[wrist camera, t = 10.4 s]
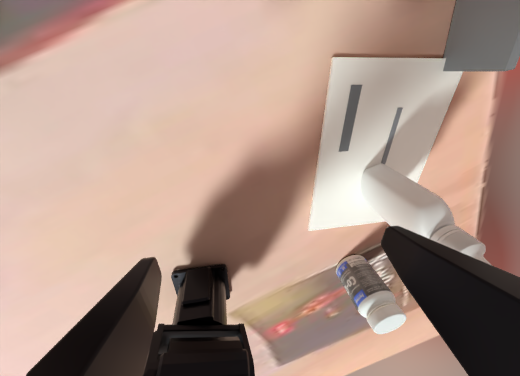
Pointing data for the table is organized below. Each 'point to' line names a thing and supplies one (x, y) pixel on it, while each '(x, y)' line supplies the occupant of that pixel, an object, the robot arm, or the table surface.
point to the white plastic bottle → (415, 209)
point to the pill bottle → (370, 294)
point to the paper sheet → (375, 129)
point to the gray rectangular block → (483, 36)
